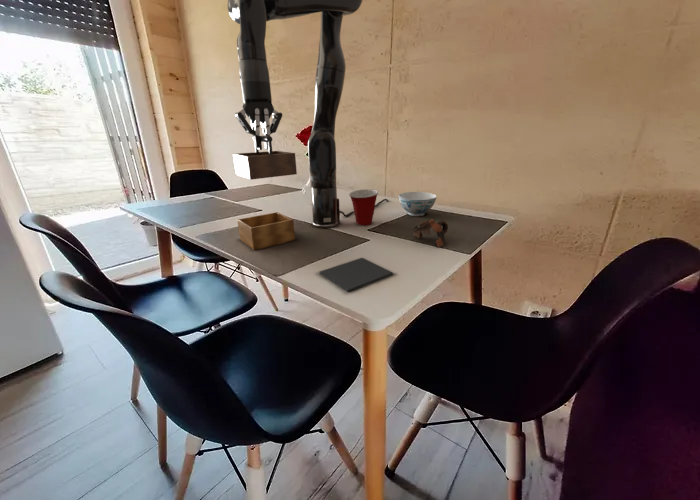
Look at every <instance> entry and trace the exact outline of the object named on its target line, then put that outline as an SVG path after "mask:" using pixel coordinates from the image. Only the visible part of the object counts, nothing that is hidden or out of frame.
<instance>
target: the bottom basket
mask: <svg viewBox="0 0 700 500" xmlns="http://www.w3.org/2000/svg"><path fill="white" fill-rule="evenodd" d="M236 221H237V226H238V227H237V228H238V233H239V239H240V241H241V242H242V243H244V244H245V245H246V246H247V247H249V248H250V249H251V250H253V251H257V250H261V249H265V248H269V247H274V246H277V245H281V244H285V243H290V242H293V241H296V231H295V222H294V219H293V218H292V217H289V216H287V215H285V214H282V213H280V212H278V211H275V212H270V213H265V214H260V215H253V216H249V217H242V218H238V219H236Z"/></svg>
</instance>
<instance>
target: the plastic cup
mask: <svg viewBox="0 0 700 500" xmlns="http://www.w3.org/2000/svg"><path fill="white" fill-rule="evenodd" d="M378 194H379V191H378V190H376V189H370V188H367V189H357V190H353V191H351V192H349V193H348V196H349V198H350V199H351V202H352V208H353V211H354V213H353V215H354V217H355V218H354V219H355V222H356V225H358V226H369V225H372V223H373V219H374V213H375V208H376V207H375V205H376V202H377V197H378Z"/></svg>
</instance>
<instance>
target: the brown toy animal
mask: <svg viewBox="0 0 700 500" xmlns="http://www.w3.org/2000/svg"><path fill="white" fill-rule="evenodd" d="M431 229H432V230H433V231H434V232H435V233H436V235H437V237H438V239H436V240H435V244H436V246H437V248H440V247H442V246H443V245H445V244H446V238H445V237H446V236H445V234H447V232H448V229H449V224H448V223H447V222H446V221H445V220H440V221H438V222H436V221H435V219H433V218H432V219H428V220H425V221H423V222H421V223H420V224H419V226H418V225H416V226H415V227H413V228H412V231H413V233H412V236H413V238H415V237H417V238H418V239H421V238H422V237H423V234H426V235H430V234H431V231H430V230H431Z"/></svg>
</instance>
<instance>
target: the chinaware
mask: <svg viewBox="0 0 700 500" xmlns="http://www.w3.org/2000/svg"><path fill="white" fill-rule="evenodd" d="M398 200H399V203H400V205H401V207H402V209H404V210H405V211H406V212H407V214H408V215H409V216H411V217H422V216H425V213H427V212H429V210H431V209H432V208H433V206H434V205H435V203H436V200H437V195H436V194H434V193H431V192H426V191H406V192H400V193H399V194H398Z"/></svg>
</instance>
